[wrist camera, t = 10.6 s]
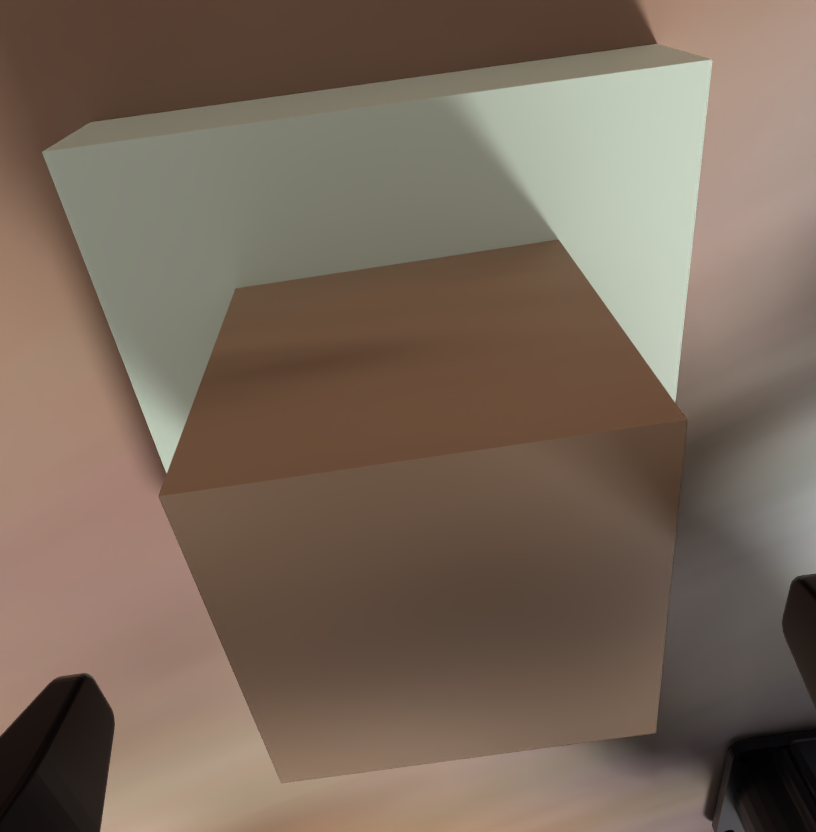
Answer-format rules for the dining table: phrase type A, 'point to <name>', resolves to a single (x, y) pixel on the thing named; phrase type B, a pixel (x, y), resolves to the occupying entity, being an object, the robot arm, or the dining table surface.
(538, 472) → the walnut cube
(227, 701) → the dining table surface
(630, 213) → the base
